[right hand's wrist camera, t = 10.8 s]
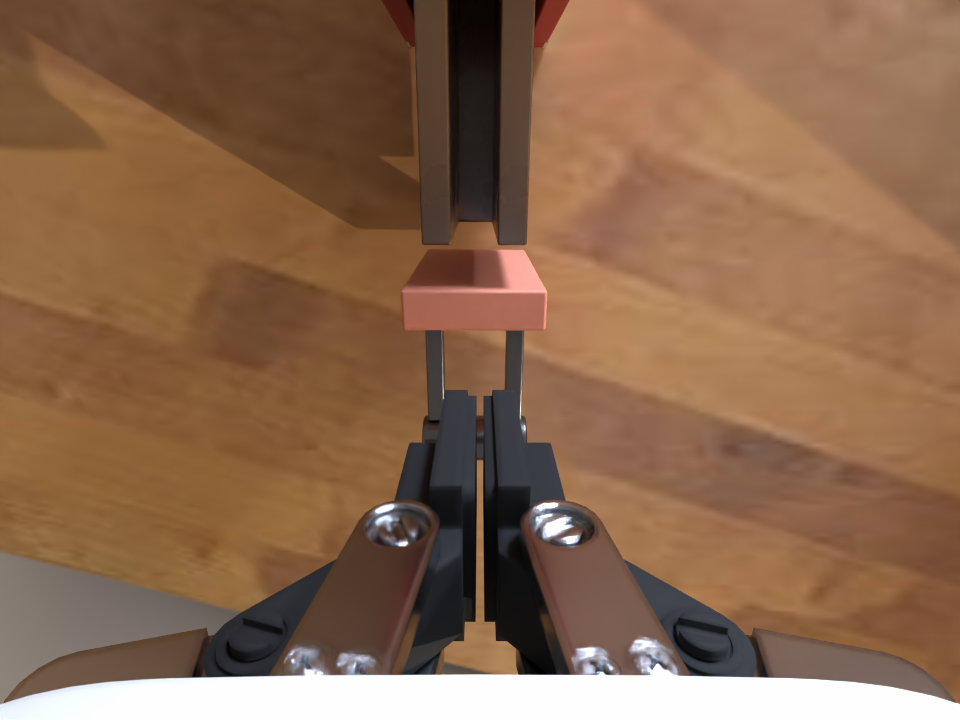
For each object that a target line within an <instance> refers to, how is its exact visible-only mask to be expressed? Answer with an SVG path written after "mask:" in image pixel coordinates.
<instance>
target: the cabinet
mask: <svg viewBox="0 0 960 720" xmlns="http://www.w3.org/2000/svg"><path fill="white" fill-rule="evenodd" d="M382 2H383V3H384V5H385V7H386V8H387V10H388V12H389V14H390V15H391V17H392V19H393V21H394V22H395V24H396V26H397V28H398V29H399V31H400V33H401V34H402V36H403V38H404V40H405V43H406V45H407V47H411V46H415V27H414V0H382ZM568 2H569V0H535V23H534V47H542V48H546V46H547V44H548V40H549V38H550V36H551V34H552V32H553V30H554V29H555V27H556V25H557V23H558V21H559V19H560V17H561V15H562V13H563V12H564V10H565V8H566V6H567V4H568Z"/></svg>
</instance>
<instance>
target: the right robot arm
mask: <svg viewBox="0 0 960 720" xmlns="http://www.w3.org/2000/svg"><path fill="white" fill-rule="evenodd" d="M476 518H477V439H476V396H468V391H467V390H445V392H444V398H443V404H442V410H441V416H440V423H439V429H438V435H437V441H436V443H410V444H409V447H408V450H407V454H406V458H405V462H404V466H403V470H402V474H401V477H400V481H399V485H398V489H397V493H396V497H395V501H390V502H385V503H383V504H380V505H378V506H375V507H373V508H372V509H371V510H369V511H368V512H366V513H365V514H364V515H363V516H362V518H361V519H360V520H359V521H358V523H357V525H356V526H355V528H354V530H353V532H352V533H351V535H350V537H349V539H348V540H347V542H346V544H345V545H344V547H343V549H342V551H341V552H340V554H339V556H338V558H337V559H336V560H334V561H332V562H331V563H329V564H327V565H325V566H323V567H322V568H320V569H318V570H316V571H315V572H313V573H311V574H309V575H307V576H306V577H304V578H302V579H300V580H299V581H297V582H295V583H293V584H291V585H290V586H288V587H286V588H284V589H283V590H281V591H279V592H277V593H276V594H274V595H272V596H270V597H268V598H267V599H265V600H263V601H261V602H260V603H258V604H256V605H254V606H252V607H251V608H249V609H247V610H245V611H244V612H242V613H240V614H238V615H237V616H236V617H234V618H233V619H231V620H230V621H228V622H227V623H226V624H224V625H223V626H222V628H221V629H220V630H219V631H218V632H217V633H216V634H215V635H211V636H208V632H207V629H206V628H203V629H198V630H192V631H187V632H181V633H176V634H171V635H166V636H160V637H155V638H149V639H144V640H139V641H133V642H127V643H122V644H117V645H111V646H106V647H101V648H95V649H90V650H84V651H79V652H75V653H72V654H69V655H65V656H62V657H59V658H57V659H55V660H53V661H51V662H49V663H47V664H46V665H44V666H42V667H40V668H38V669H37V670H36V671H34V672H33V673H32V674H30V675H29V676H28V677H26V678H25V679H24V680H23V681H21V682H20V683H19V684H18V685H17V686H16V688H15V689H14V690H13V691H12V692H11V694H10V695H9V696H8V697H7V698H6V699H5V701H4V703H3V704H0V720H960V704H957V703H956V701H955V699H954V698H953V697H952V696H951V695H950V694H949V692H948V691H947V690H946V689H945V688H944V686H943V685H942V684H941V683H940V682H939V681H937V680H936V679H935V678H934V677H932V676H931V675H930V674H928V673H927V672H926V671H925V670H923V669H922V668H920V667H918V666H916V665H914V664H913V663H911V662H909V661H907V660H905V659H903V658H901V657H898V656H894V655H891V654H888V653H885V652H881V651H876V650H870V649H865V648H860V647H854V646H849V645H843V644H838V643H833V642H827V641H822V640H816V639H811V638H806V637H800V636H795V635H789V634H784V633H779V632H773V631H768V630H762V629H757V628H753V632H752V636H749V635H745V634H744V633H743V632H742V631H741V630H740V629H739V628H738V626H737V625H736V624H734V623H733V622H732V621H730V620H729V619H727V618H726V617H724V616H723V615H722V614H720V613H718V612H716V611H715V610H713V609H711V608H709V607H708V606H706V605H704V604H702V603H700V602H699V601H697V600H695V599H693V598H692V597H690V596H688V595H686V594H684V593H683V592H681V591H679V590H677V589H676V588H674V587H672V586H670V585H668V584H667V583H665V582H663V581H661V580H660V579H658V578H656V577H654V576H653V575H651V574H649V573H647V572H645V571H644V570H642V569H640V568H638V567H637V566H635V565H633V564H631V563H629V562H628V561H626V560H624V559H623V558H622V556H621V554H620V552H619V551H618V549H617V547H616V545H615V544H614V542H613V540H612V539H611V537H610V535H609V533H608V532H607V530H606V528H605V526H604V525H603V523H602V521H601V520H600V519H599V518H598V516H597V515H596V514H595V513H594V512H592V511H591V510H589V509H588V508H587V507H585V506H582V505H580V504H577V503H575V502H570V501H565V497H564V493H563V489H562V485H561V481H560V477H559V474H558V470H557V466H556V462H555V458H554V454H553V450H552V447H551V444H550V443H524V441H523V435H522V429H521V423H520V416H519V410H518V404H517V398H516V392H515V390H493V391H492V396H484V438H483V518H484V617H485V622H495V626H496V641H508V642H509V643H510V644H511V645H512V646H514V647H515V648H516V666H517V671H518V675H442V671H443V666H444V648H445V647H446V646H448V645H449V644H450V643H451V642H452V641H464V626H465V622H475V617H476Z"/></svg>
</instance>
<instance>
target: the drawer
mask: <svg viewBox="0 0 960 720" xmlns="http://www.w3.org/2000/svg"><path fill="white" fill-rule="evenodd" d="M534 23H535V0H414V27H415V57H416V86H417V115H418V145H419V174H420V203H421V233H422V244H423V245H450V243H451V241H452V238H453V236H454V233H455V231H456V228H457V226H458V223H459V222H493V226H494V230H495V234H496V238H497V242H498V245H526V243H527V217H528V189H529V161H530V134H531V106H532V78H533V51H534ZM401 306H402V326H403V329H404V330H425V332H426V362H427V392H428V415H427V416H425V418H424V421H423V431H422V443H436V441H437V435H438V429H439V423H440V416H441V410H442V404H443V398H444V392H445V364H444V330H504V331H506V353H505V390H515V392H516V398H517V404H518V410H519V416H520V423H521V429H522V435H523V441H524V443H527V428H526V419H525V417H524V416H521V404H522V377H523V349H524V331H543V330H545V328H546V309H547V291H546V289H545V288H544V286H543V284H542V282H541V280H540V279H539V277H538V275H537V273H536V271H535V269H534V268H533V266H532V264H531V262H530V260H529V259H528V257H527V255H526V253H525V251H524V250H428V251H427V252H426V254H425V255H424V257H423V258H422V260H421V261H420V263H419V265H418V266H417V268H416V269H415V271H414V272H413V274H412V275H411V277H410V278H409V280H408V282H407V283H406V285H405V286H404V288H403V289H402V291H401ZM483 438H484V416H476V439H477V460H483Z"/></svg>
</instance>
